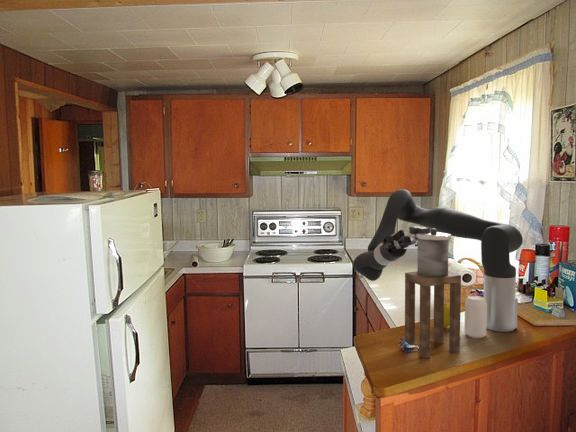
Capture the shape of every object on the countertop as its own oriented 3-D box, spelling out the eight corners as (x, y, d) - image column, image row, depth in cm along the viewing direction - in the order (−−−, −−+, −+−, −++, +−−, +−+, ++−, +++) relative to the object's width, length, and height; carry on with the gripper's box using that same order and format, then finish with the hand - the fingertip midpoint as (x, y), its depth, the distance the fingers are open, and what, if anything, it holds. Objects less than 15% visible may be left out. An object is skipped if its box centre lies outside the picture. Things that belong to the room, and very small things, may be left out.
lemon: (455, 331, 143) (456, 306, 142) (437, 330, 144) (437, 306, 143) (452, 325, 148) (453, 301, 148) (435, 324, 149) (435, 301, 149)
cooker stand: (439, 341, 135) (440, 235, 132) (459, 352, 127) (461, 239, 124) (404, 346, 131) (405, 238, 128) (423, 358, 123) (424, 242, 120)
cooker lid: (426, 232, 136) (426, 224, 136) (458, 239, 123) (458, 229, 123) (400, 234, 133) (400, 226, 133) (430, 241, 120) (430, 231, 120)
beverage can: (473, 330, 143) (474, 293, 142) (490, 336, 138) (491, 298, 137) (460, 334, 140) (460, 296, 139) (476, 340, 135) (477, 301, 134)
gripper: (367, 241, 147) (391, 221, 133) (404, 238, 152) (431, 218, 138) (373, 263, 144) (398, 245, 130) (411, 259, 149) (439, 241, 135)
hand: (415, 231), depth 134 cm, fingers open, 8 cm apart
